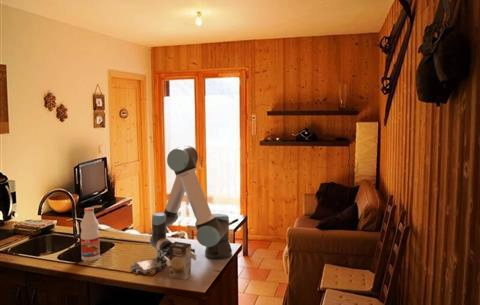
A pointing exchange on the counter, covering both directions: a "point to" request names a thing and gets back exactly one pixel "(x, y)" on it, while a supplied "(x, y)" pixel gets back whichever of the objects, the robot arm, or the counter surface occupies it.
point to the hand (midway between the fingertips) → (182, 260)
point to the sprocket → (147, 266)
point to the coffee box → (180, 260)
